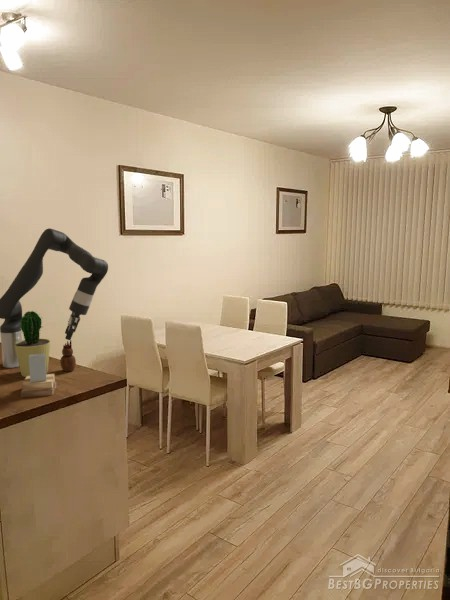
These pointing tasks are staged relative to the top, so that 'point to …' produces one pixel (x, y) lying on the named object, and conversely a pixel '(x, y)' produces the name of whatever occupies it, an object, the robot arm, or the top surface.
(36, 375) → the block
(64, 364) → the wooden figurine
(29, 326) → the potted cactus
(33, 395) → the tower base
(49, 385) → the tower top
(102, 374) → the top surface
